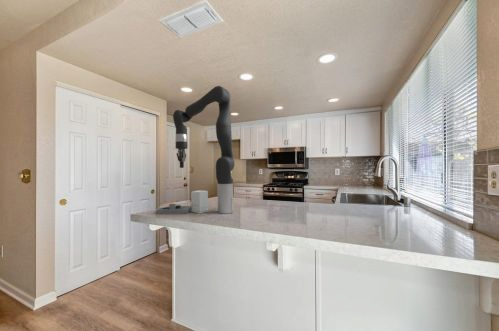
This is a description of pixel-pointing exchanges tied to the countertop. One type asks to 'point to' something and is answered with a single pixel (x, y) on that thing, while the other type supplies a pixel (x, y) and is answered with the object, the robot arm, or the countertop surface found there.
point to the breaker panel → (174, 209)
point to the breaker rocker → (175, 203)
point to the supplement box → (199, 201)
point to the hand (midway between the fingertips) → (181, 167)
